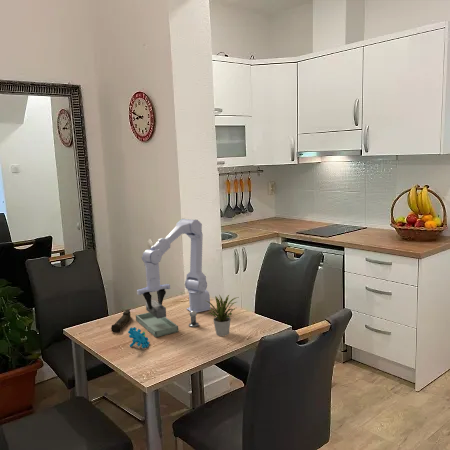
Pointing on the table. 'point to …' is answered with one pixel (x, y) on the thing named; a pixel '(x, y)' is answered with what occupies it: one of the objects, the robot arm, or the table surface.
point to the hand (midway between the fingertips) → (155, 307)
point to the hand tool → (121, 322)
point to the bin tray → (156, 324)
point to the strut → (156, 309)
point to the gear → (138, 337)
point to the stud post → (193, 319)
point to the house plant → (222, 316)
